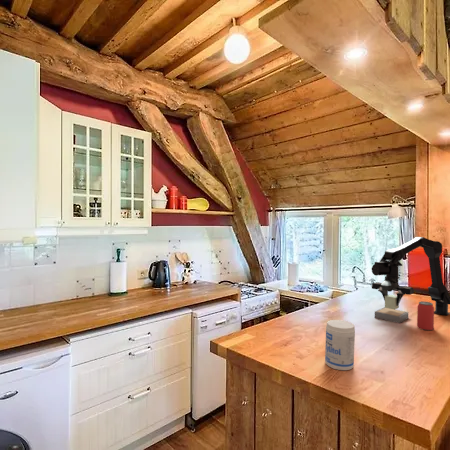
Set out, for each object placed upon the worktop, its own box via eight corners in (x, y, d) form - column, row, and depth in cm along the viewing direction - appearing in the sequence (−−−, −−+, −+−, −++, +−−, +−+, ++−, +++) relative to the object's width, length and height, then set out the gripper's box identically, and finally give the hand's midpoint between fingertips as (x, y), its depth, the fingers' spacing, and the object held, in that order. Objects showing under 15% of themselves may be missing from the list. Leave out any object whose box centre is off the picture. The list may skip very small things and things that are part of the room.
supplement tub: (320, 365, 114) (321, 324, 114) (331, 356, 121) (331, 317, 121) (348, 374, 108) (349, 330, 107) (358, 364, 115) (358, 323, 115)
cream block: (388, 305, 172) (388, 294, 172) (398, 307, 168) (398, 296, 168) (384, 307, 168) (384, 295, 168) (394, 309, 165) (395, 297, 165)
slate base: (384, 312, 177) (384, 307, 177) (408, 318, 168) (408, 311, 168) (374, 317, 169) (374, 311, 169) (399, 323, 160) (399, 316, 160)
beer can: (436, 331, 149) (436, 305, 148) (420, 330, 150) (420, 304, 150) (430, 326, 155) (430, 301, 155) (414, 325, 156) (415, 300, 156)
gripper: (367, 274, 169) (366, 303, 170) (406, 279, 155) (405, 311, 156) (376, 271, 177) (376, 300, 177) (414, 276, 163) (413, 307, 163)
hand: (391, 304), depth 168 cm, fingers closed on cream block, 5 cm apart
